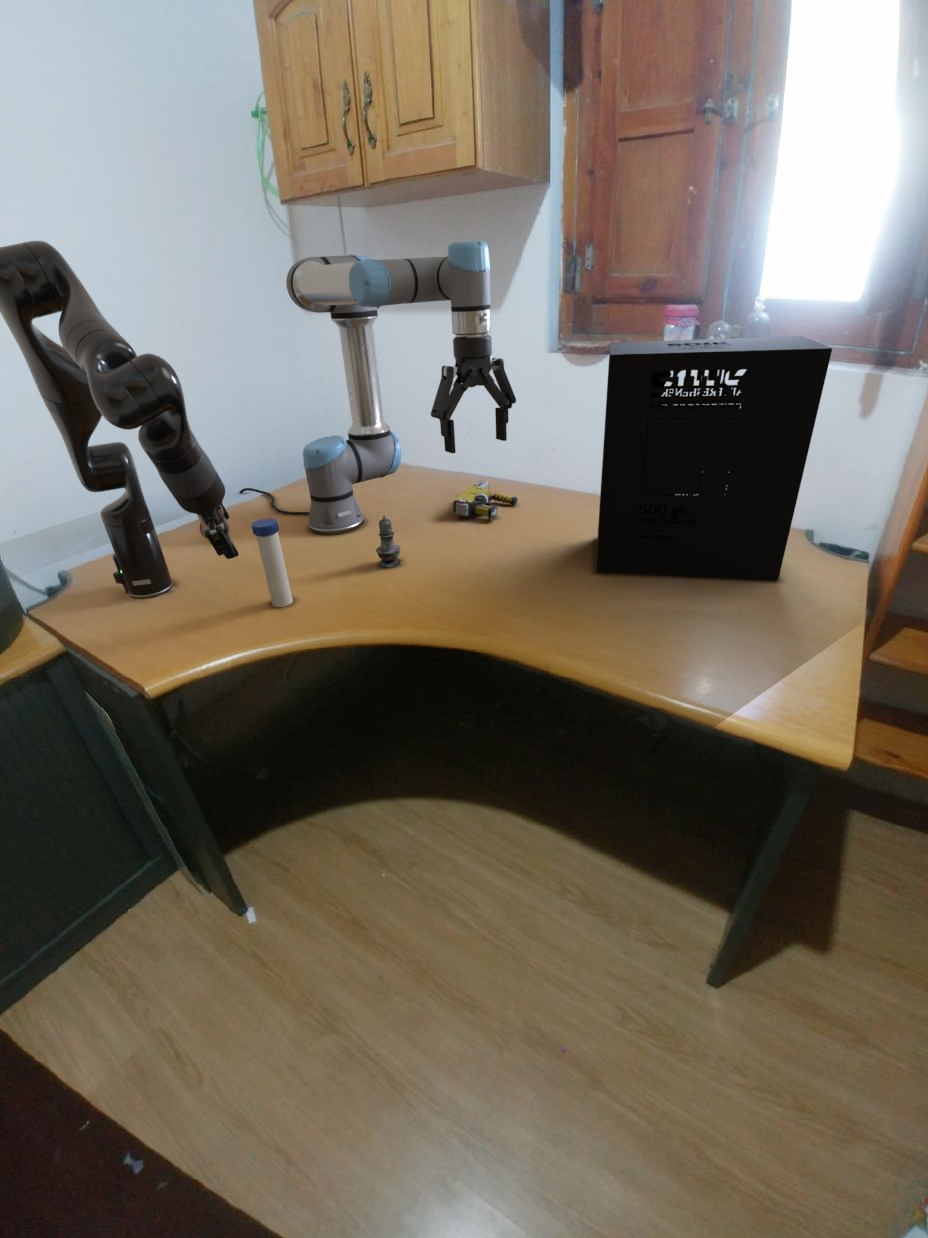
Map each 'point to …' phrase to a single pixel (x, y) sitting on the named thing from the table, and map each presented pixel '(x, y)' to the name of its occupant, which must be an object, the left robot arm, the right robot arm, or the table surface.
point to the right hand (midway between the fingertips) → (476, 445)
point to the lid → (265, 527)
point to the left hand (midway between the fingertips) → (228, 537)
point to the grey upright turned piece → (387, 545)
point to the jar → (275, 570)
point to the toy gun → (480, 501)
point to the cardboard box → (705, 455)
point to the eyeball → (202, 529)
